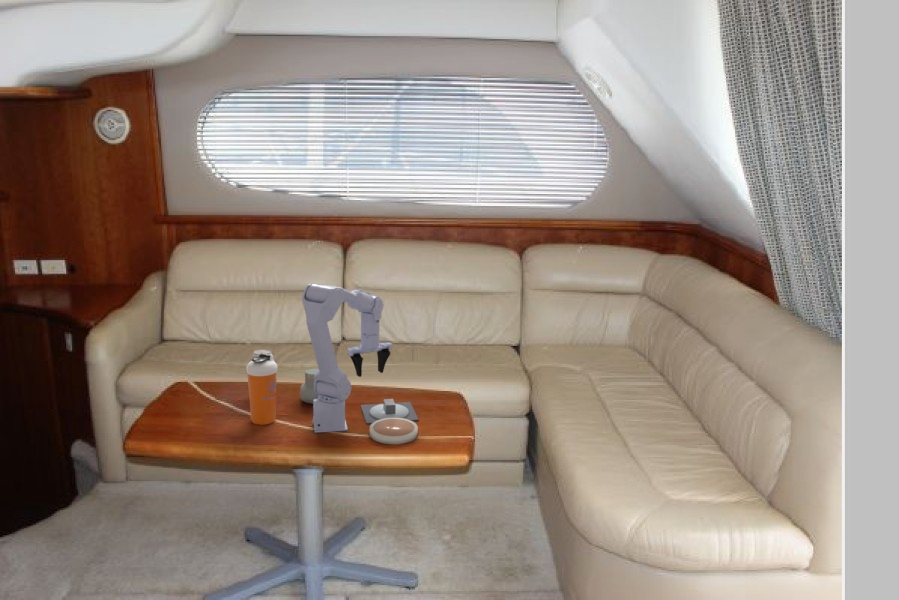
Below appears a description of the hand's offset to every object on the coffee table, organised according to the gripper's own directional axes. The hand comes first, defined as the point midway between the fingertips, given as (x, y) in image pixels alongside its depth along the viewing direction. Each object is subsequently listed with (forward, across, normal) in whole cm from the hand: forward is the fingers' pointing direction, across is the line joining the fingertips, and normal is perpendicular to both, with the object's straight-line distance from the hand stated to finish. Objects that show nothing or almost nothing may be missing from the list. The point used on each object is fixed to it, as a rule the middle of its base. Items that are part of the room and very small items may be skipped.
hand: (369, 373), depth 230 cm
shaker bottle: (+11, -34, +4) cm, 35 cm away
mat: (+10, +2, -9) cm, 14 cm away
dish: (+10, -4, -23) cm, 26 cm away
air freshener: (+11, -14, +11) cm, 21 cm away
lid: (+10, +2, -10) cm, 14 cm away
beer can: (+11, -27, +23) cm, 37 cm away
